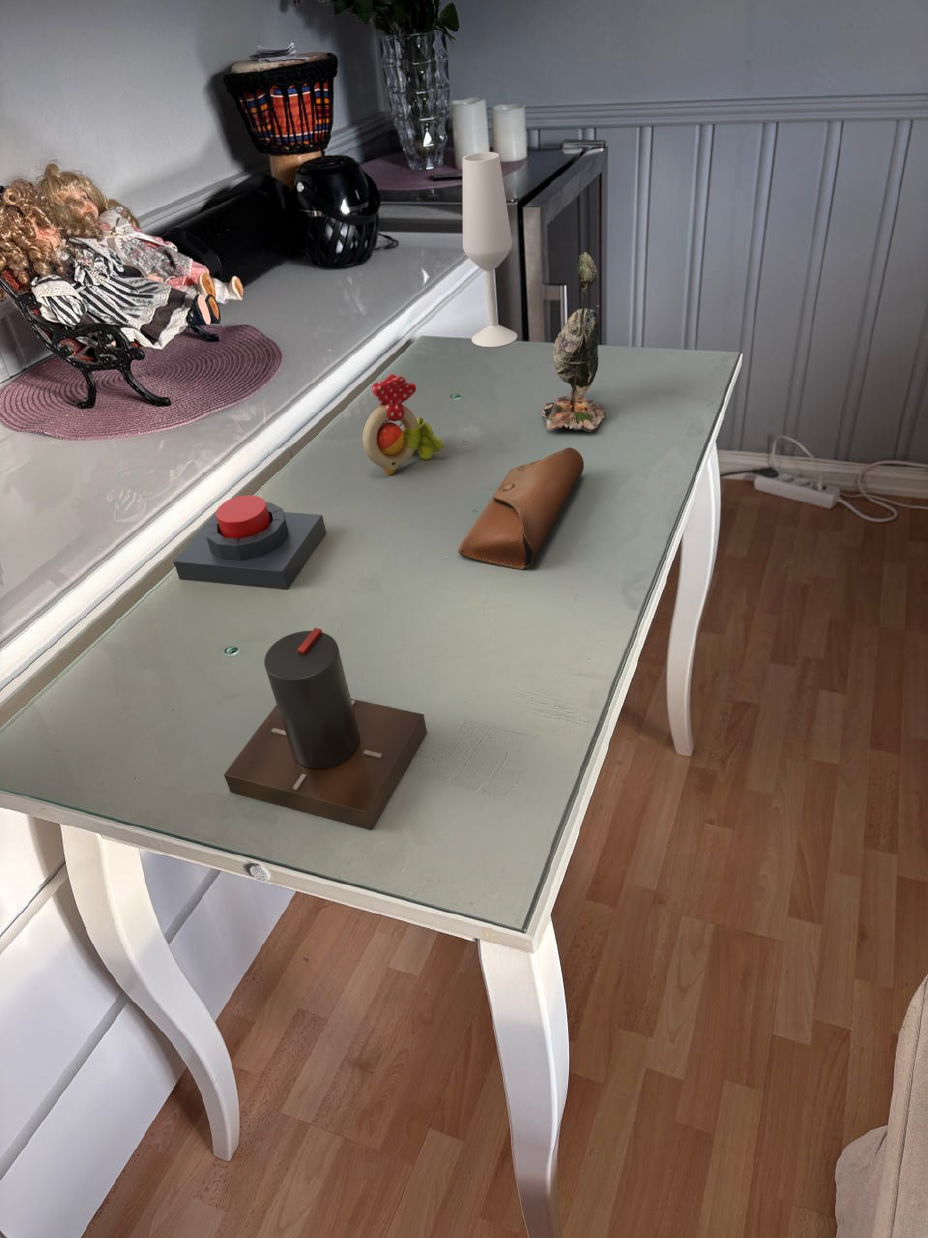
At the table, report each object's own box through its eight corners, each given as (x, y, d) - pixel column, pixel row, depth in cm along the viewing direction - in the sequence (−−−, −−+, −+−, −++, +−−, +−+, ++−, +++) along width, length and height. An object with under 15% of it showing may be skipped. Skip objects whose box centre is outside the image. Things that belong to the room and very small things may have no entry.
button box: (179, 579, 91) (167, 546, 89) (224, 524, 99) (215, 492, 96) (287, 589, 88) (278, 555, 86) (326, 532, 96) (319, 499, 93)
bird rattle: (412, 496, 103) (459, 438, 105) (368, 431, 95) (420, 369, 97) (375, 481, 107) (422, 425, 109) (330, 416, 98) (381, 357, 100)
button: (212, 537, 90) (206, 520, 89) (234, 510, 94) (229, 493, 92) (257, 541, 89) (252, 524, 87) (278, 513, 92) (274, 496, 91)
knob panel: (230, 792, 69) (222, 773, 67) (295, 702, 76) (290, 683, 74) (371, 830, 65) (366, 811, 63) (427, 732, 72) (423, 712, 70)
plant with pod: (619, 397, 113) (621, 229, 101) (594, 440, 105) (593, 264, 93) (556, 392, 116) (551, 228, 103) (527, 433, 108) (518, 262, 96)
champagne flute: (464, 345, 130) (447, 163, 115) (480, 327, 135) (465, 150, 120) (509, 348, 128) (497, 162, 113) (523, 329, 133) (513, 149, 118)
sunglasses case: (510, 464, 102) (537, 420, 97) (563, 497, 102) (593, 455, 97) (453, 556, 89) (481, 510, 84) (514, 593, 89) (545, 550, 85)
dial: (339, 776, 66) (314, 683, 60) (278, 760, 68) (248, 668, 62) (371, 726, 70) (350, 634, 64) (312, 712, 72) (287, 621, 66)
